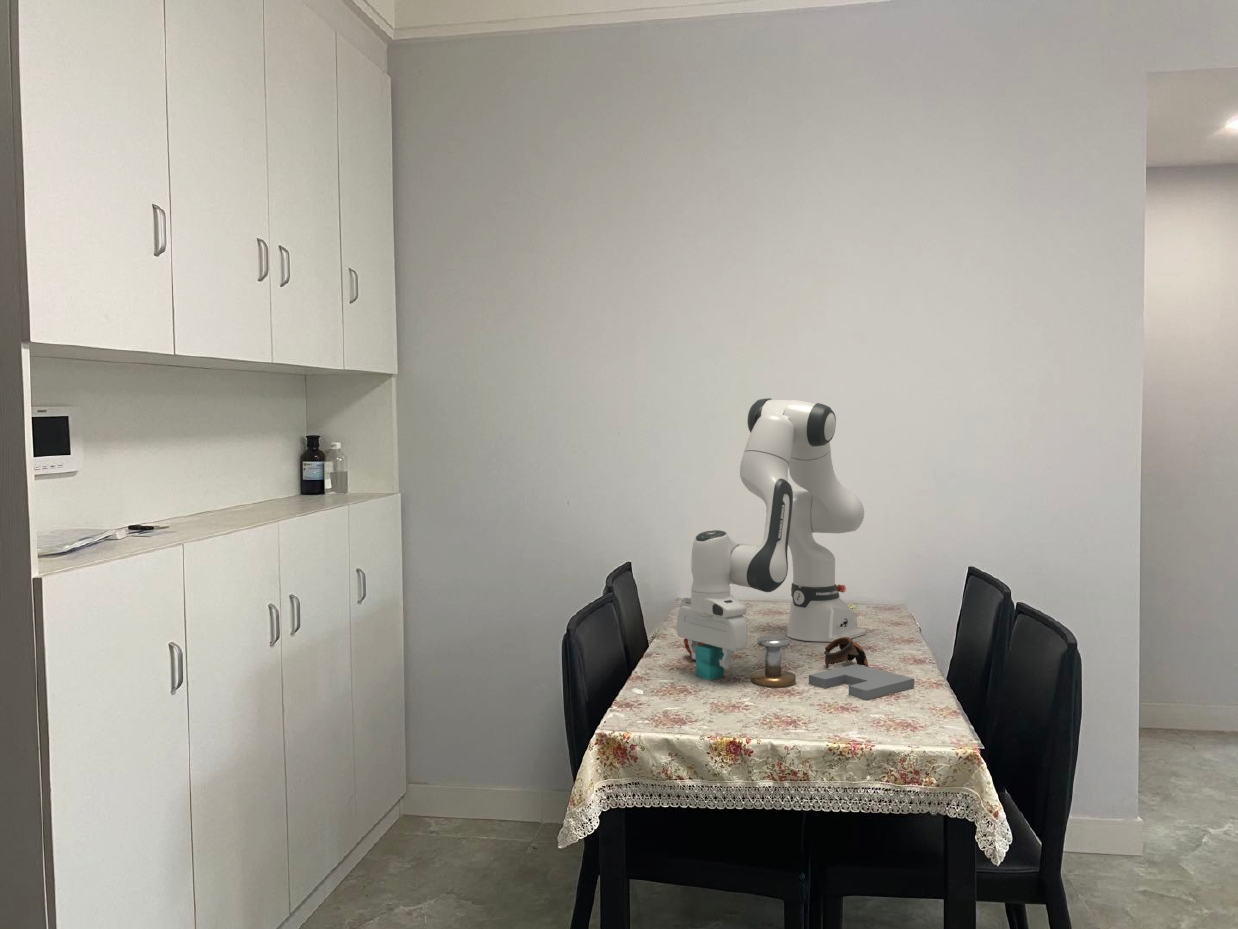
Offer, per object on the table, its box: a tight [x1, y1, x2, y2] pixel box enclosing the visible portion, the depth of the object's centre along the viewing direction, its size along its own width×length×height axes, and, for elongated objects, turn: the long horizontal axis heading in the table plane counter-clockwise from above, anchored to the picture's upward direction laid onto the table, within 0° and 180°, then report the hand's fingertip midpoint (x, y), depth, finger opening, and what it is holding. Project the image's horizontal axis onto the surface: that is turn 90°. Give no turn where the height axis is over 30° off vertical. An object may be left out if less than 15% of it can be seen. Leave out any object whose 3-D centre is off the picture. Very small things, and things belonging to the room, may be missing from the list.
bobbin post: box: [749, 635, 797, 689], centre depth 222 cm, size 10×10×10 cm
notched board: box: [808, 663, 915, 701], centre depth 219 cm, size 16×16×2 cm
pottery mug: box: [823, 637, 869, 668], centre depth 236 cm, size 12×10×8 cm
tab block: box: [695, 644, 725, 681], centre depth 227 cm, size 4×4×7 cm
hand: (710, 663), depth 227 cm, fingers open, 8 cm apart
